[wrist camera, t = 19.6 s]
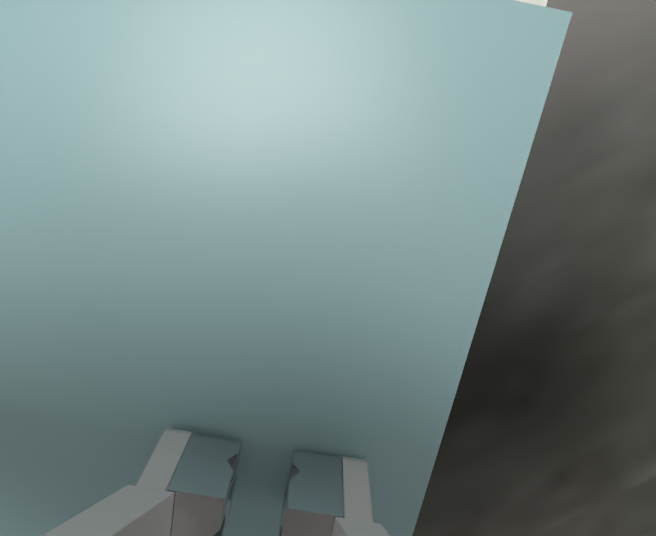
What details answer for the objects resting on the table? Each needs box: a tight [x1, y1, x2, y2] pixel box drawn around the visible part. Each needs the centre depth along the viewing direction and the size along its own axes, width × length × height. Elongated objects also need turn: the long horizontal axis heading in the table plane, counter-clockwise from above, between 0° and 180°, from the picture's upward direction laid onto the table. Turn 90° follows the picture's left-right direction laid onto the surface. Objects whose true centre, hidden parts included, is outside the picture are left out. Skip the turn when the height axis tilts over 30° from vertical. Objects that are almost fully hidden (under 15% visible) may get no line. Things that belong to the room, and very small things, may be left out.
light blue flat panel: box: [0, 0, 572, 536], centre depth 10 cm, size 18×10×1 cm, turn 170°
